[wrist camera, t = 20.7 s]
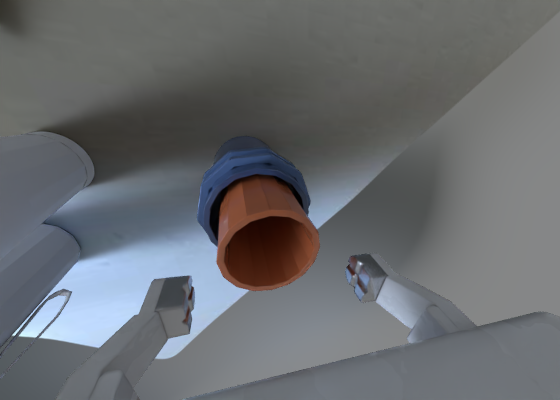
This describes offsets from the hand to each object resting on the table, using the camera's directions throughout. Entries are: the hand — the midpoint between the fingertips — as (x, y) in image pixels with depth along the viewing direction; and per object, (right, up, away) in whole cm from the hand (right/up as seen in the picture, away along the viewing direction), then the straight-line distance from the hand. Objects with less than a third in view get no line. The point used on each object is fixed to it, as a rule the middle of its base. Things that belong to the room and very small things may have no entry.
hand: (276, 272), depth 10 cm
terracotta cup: (-3, +5, +10) cm, 12 cm away
